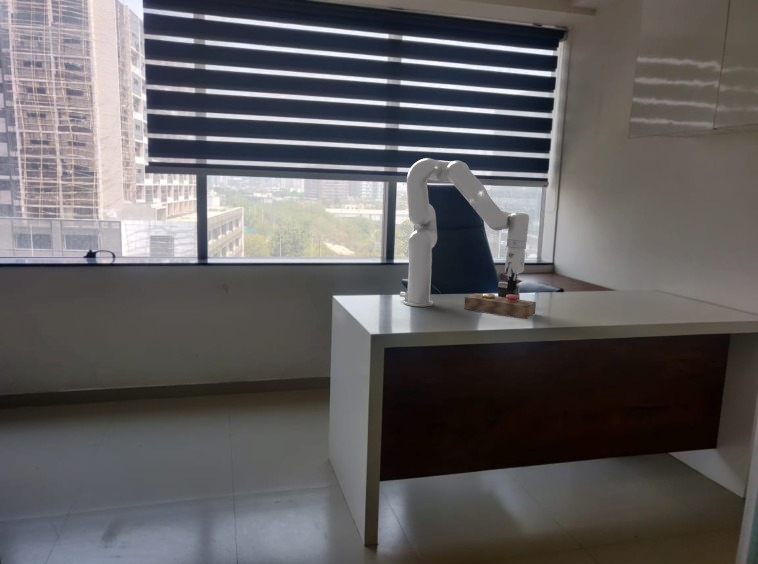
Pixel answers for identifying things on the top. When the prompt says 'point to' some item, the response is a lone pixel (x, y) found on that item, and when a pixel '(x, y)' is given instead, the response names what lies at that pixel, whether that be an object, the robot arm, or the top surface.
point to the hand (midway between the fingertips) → (511, 290)
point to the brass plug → (488, 296)
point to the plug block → (500, 306)
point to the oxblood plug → (512, 298)
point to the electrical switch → (503, 290)
